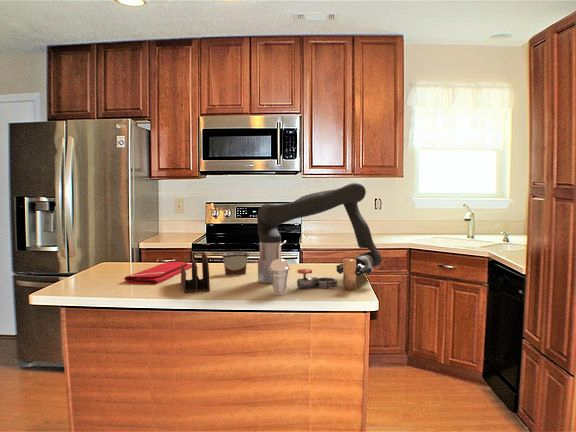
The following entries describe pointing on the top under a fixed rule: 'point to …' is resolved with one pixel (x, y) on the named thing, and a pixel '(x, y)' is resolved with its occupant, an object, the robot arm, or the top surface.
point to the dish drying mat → (157, 273)
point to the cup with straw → (279, 274)
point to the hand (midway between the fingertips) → (349, 271)
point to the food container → (235, 263)
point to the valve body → (314, 281)
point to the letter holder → (196, 277)
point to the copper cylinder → (349, 274)
